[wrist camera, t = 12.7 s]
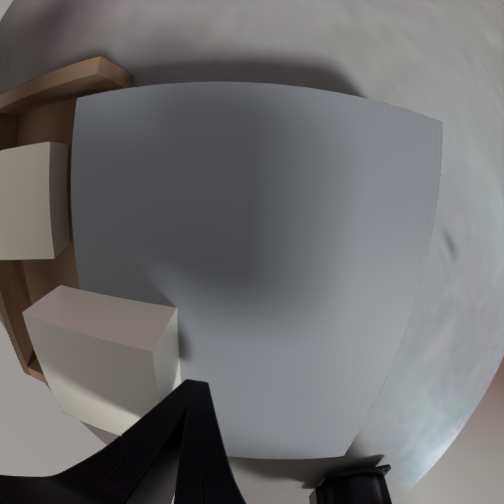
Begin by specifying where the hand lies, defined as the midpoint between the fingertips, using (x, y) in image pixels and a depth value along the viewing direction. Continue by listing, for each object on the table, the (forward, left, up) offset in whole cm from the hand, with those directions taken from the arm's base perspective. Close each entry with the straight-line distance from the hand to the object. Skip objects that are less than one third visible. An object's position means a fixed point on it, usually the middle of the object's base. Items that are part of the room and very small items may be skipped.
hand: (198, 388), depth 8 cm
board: (-1, -1, -5) cm, 5 cm away
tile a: (+9, -6, -1) cm, 11 cm away
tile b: (+3, 0, -1) cm, 4 cm away
